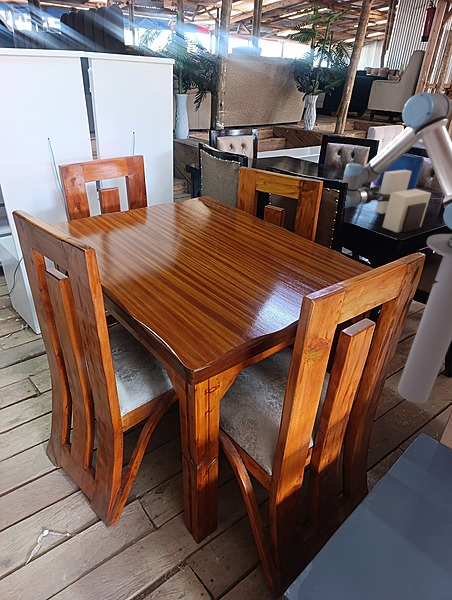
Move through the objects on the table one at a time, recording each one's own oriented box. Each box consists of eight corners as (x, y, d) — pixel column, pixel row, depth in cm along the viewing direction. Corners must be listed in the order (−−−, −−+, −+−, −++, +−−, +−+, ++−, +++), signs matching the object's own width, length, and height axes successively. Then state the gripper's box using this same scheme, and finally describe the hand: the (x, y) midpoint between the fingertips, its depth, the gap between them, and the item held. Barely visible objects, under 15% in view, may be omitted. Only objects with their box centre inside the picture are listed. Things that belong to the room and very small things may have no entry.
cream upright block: (422, 227, 187) (433, 193, 179) (398, 233, 178) (408, 197, 170) (406, 221, 193) (415, 188, 185) (382, 227, 185) (391, 192, 177)
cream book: (401, 210, 211) (411, 171, 201) (381, 213, 203) (391, 173, 193) (394, 207, 214) (404, 169, 204) (375, 211, 206) (384, 171, 196)
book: (413, 201, 227) (426, 155, 215) (411, 203, 222) (423, 156, 209) (375, 194, 237) (384, 150, 224) (372, 197, 231) (381, 151, 219)
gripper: (340, 197, 203) (368, 193, 213) (381, 211, 185) (409, 206, 195) (343, 182, 199) (371, 179, 209) (385, 195, 181) (413, 190, 191)
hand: (389, 192), depth 202 cm, fingers open, 13 cm apart
